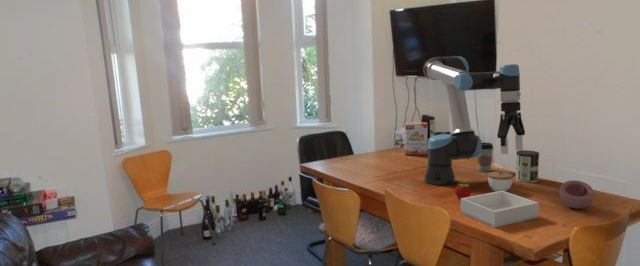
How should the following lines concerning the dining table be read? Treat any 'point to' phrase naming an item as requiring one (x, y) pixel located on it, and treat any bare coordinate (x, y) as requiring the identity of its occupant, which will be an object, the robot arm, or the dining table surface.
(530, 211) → the bin
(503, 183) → the lidded jar
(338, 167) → the dining table surface
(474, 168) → the dining table surface
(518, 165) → the coffee can
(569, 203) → the mortar and pestle
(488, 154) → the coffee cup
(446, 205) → the dining table surface
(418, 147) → the cracker box
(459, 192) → the strawberry
